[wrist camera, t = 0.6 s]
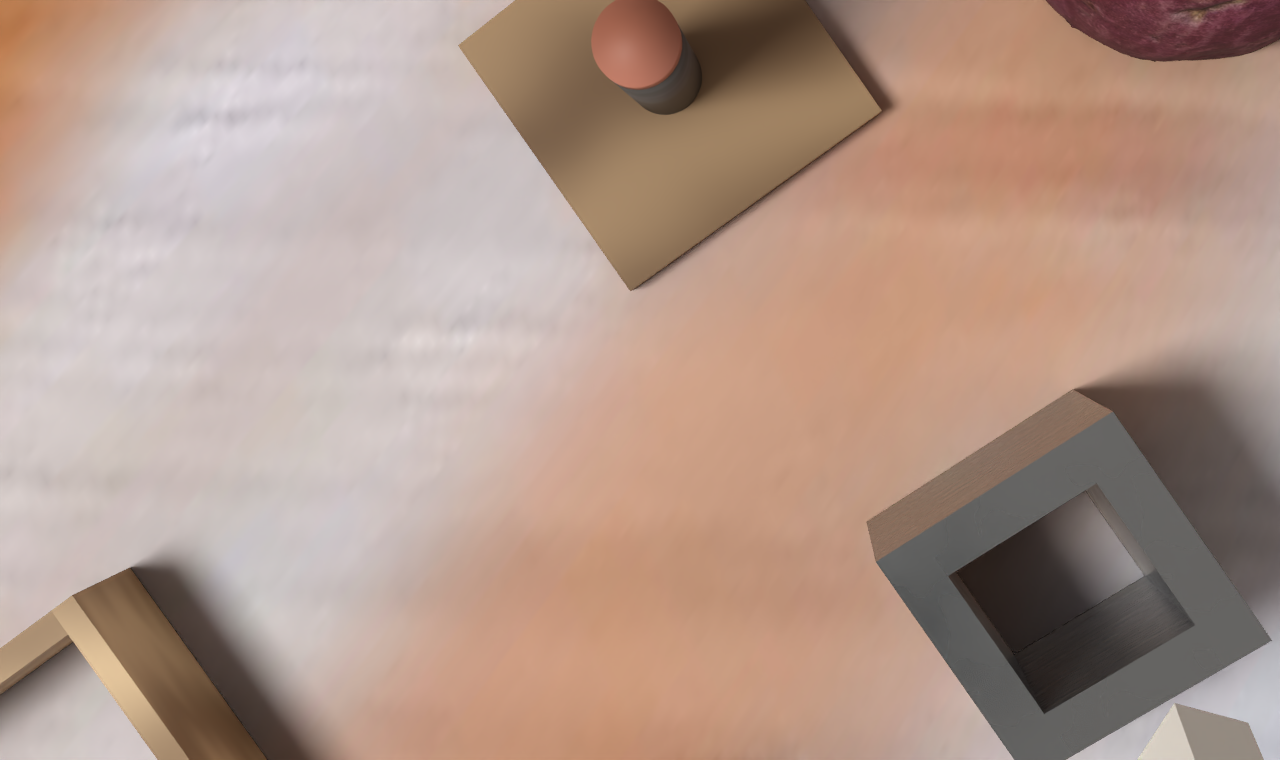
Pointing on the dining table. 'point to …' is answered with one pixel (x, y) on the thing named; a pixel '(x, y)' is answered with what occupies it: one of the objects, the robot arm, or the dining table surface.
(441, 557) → the dining table surface
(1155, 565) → the grey square hollow block
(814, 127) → the keeper
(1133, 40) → the vegetable
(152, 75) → the dining table surface
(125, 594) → the tray rim
